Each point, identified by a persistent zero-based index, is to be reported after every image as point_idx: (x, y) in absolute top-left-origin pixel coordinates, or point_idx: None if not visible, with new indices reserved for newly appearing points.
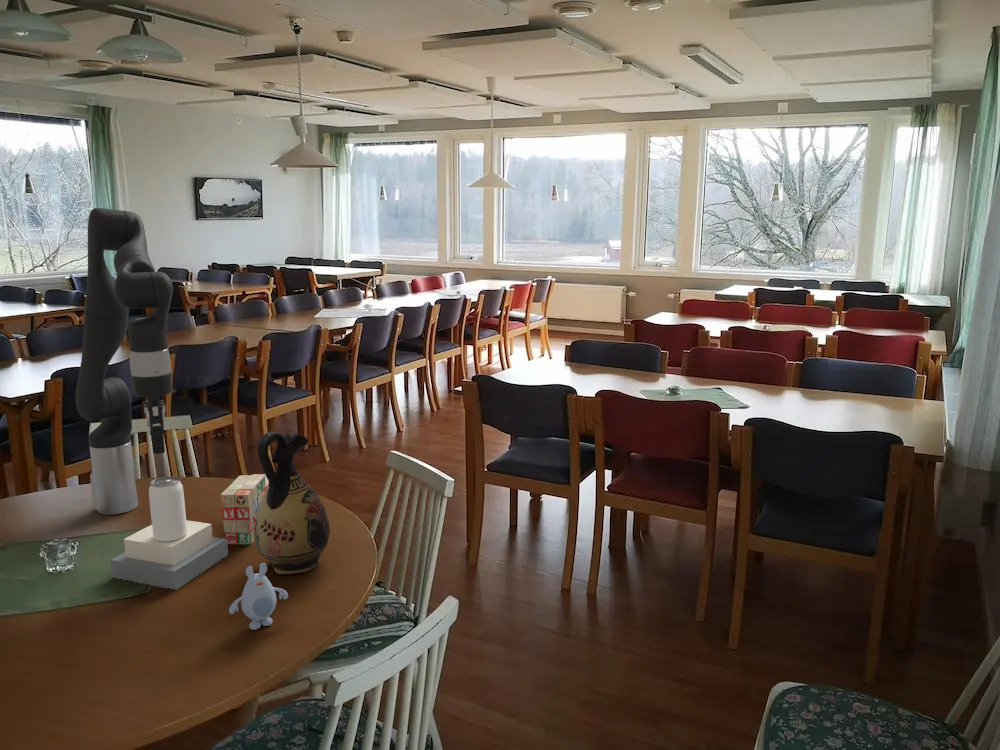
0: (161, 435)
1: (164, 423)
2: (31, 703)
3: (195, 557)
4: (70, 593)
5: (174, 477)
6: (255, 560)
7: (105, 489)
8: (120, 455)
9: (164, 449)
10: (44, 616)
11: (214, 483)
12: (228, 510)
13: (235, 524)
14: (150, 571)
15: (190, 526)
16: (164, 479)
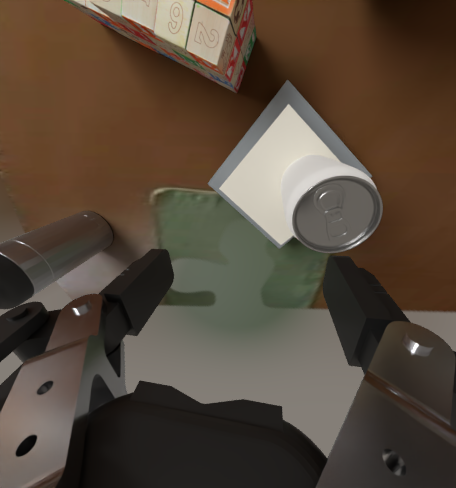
0: (379, 328)
1: (415, 405)
2: None
3: (338, 142)
4: (293, 271)
5: (308, 190)
6: (331, 27)
7: (89, 253)
8: (36, 257)
9: (352, 262)
10: None
11: (7, 108)
12: (230, 60)
13: (241, 55)
14: None
15: (280, 148)
16: (302, 216)
